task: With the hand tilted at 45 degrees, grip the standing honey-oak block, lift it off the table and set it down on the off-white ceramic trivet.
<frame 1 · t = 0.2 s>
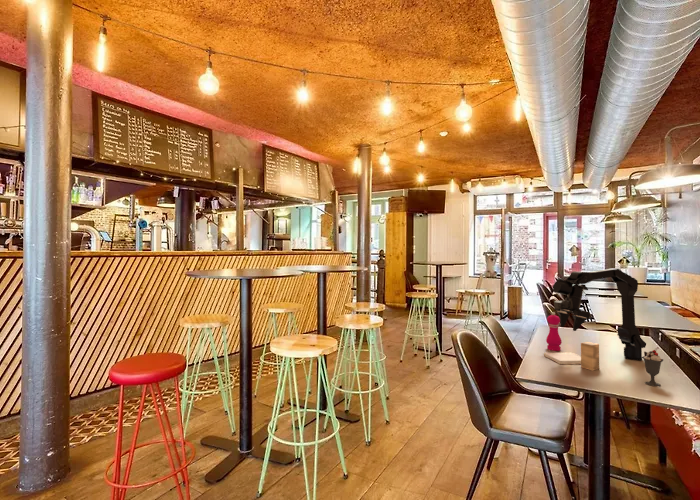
hand: (567, 328, 177), 15 cm above the table, tool pointing down, fingers open, 9 cm apart
oak block: (590, 367, 166), on the table
sundae: (652, 384, 145), on the table
pepper mill: (553, 349, 198), on the table
trivet: (566, 359, 179), on the table
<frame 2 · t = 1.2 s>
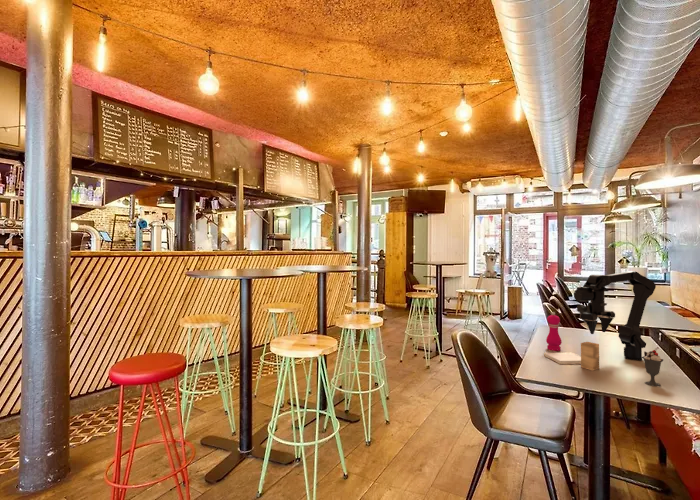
hand: (597, 333, 178), 13 cm above the table, tool pointing down, fingers open, 9 cm apart
nothing on the table moved.
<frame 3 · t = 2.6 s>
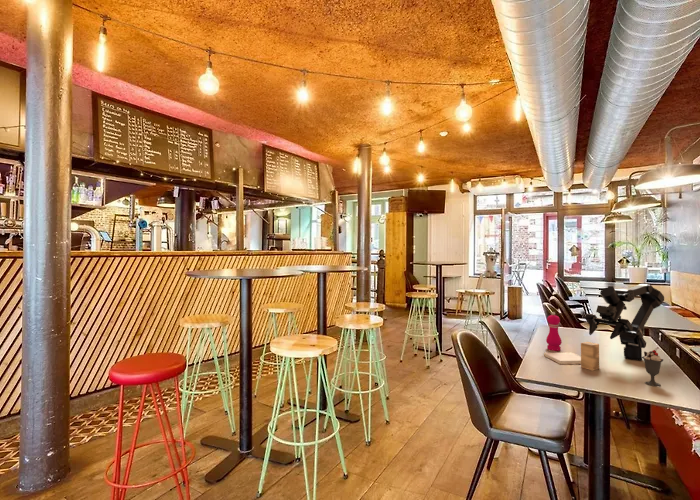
hand: (600, 336, 169), 13 cm above the table, tool tilted 45°, fingers open, 9 cm apart
nothing on the table moved.
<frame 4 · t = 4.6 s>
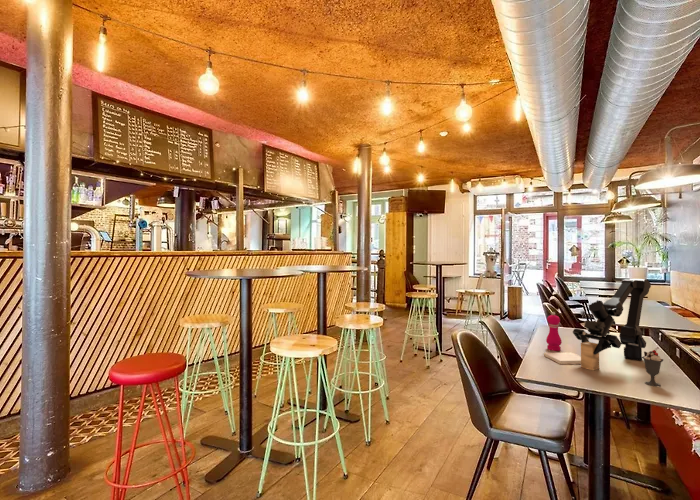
hand: (587, 352, 165), 7 cm above the table, tool tilted 45°, fingers closed on oak block, 5 cm apart
oak block: (590, 367, 166), on the table, touching gripper
everything else where it was.
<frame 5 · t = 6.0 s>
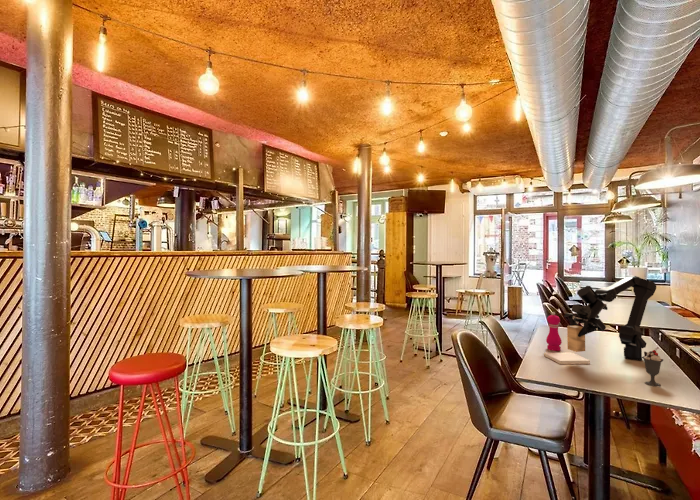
hand: (573, 335, 172), 13 cm above the table, tool tilted 45°, fingers closed on oak block, 5 cm apart
oak block: (576, 350, 172), point 6 cm above the table, touching gripper
everything else where it was.
when the fingers open (9 cm above the table, at t = 7.5 s): oak block stays where it is, resting on trivet.
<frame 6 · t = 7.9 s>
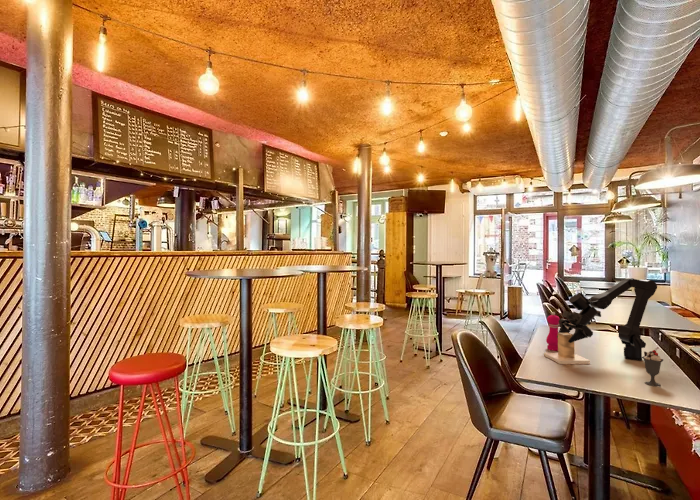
hand: (563, 339, 179), 10 cm above the table, tool tilted 45°, fingers open, 9 cm apart
oak block: (566, 356, 179), point 1 cm above the table, touching trivet
everything else where it was.
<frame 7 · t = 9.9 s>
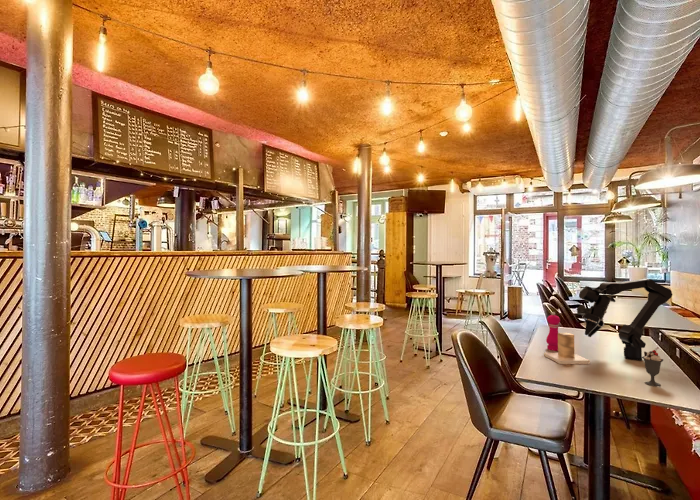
hand: (587, 335, 181), 11 cm above the table, tool tilted 25°, fingers open, 9 cm apart
nothing on the table moved.
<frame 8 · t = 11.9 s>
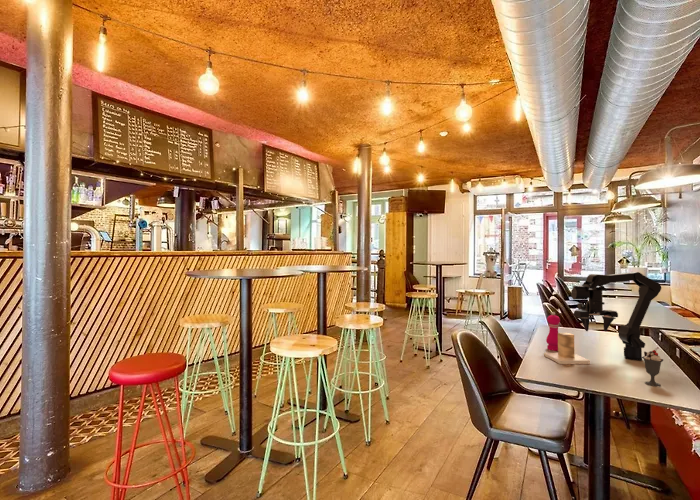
hand: (595, 331, 182), 13 cm above the table, tool pointing down, fingers open, 9 cm apart
nothing on the table moved.
at the end: oak block inside the target area on the trivet (0.0 cm from its centre), point 1.5 cm above the trivet's base; oak block tilted 0°; the gripper is holding nothing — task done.
